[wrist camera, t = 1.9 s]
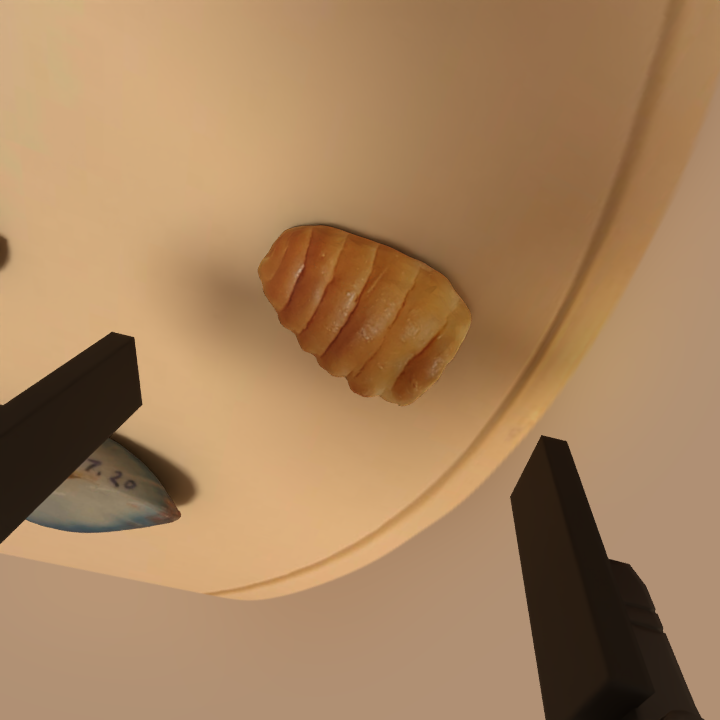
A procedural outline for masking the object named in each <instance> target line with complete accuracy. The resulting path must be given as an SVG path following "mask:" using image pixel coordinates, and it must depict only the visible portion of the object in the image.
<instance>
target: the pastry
mask: <svg viewBox="0 0 720 720" xmlns="http://www.w3.org/2000/svg"><path fill="white" fill-rule="evenodd" d="M258 274H259V278H260V279H261V281H262V285H263V292H264V294H265V296H266V297H267V298H268V300H269V302H270V303H271V304H272V306H273V307H274V308H275V310H276V312H277V314H278V318H279V321H280V323H281V324H282V325H283V326H284V327H285V328H287V329H289V330H291V331H292V332H293V333H295V335H296V337H297V340H298V342H299V344H300V346H301V348H302V349H303V350H304V351H306V352H308V353H311V354H313V355H314V356H315V357H316V359H317V362H318V363H319V365H320V366H321V367H322V368H324V369H325V370H327V371H328V373H330V374H331V375H332V376H335V377H346V378H347V380H348V383H349V387H350V389H351V390H352V391H353V392H354V393H357V394H359V395H361V396H363V397H373V396H380V397H382V398H383V399H384V400H386V401H388V402H391V403H397V404H398V405H399V406H406V405H409V404H411V403H413V402H414V401H415V400H416V399H417V398H419V397H420V396H421V395H422V394H424V393H425V392H426V391H427V390H428V389H429V388H430V387H431V386H432V385H433V384H434V383H435V382H436V381H437V380H438V379H439V378H440V376H441V374H442V373H443V371H444V368H445V367H446V365H447V364H448V363H449V362H450V361H452V359H453V358H454V356H455V354H456V352H457V351H458V349H459V347H460V346H461V344H462V342H463V340H464V339H465V337H466V335H467V332H468V329H469V327H470V324H471V314H470V311H469V309H468V307H467V306H466V304H465V303H464V302H463V300H462V299H461V298H460V296H459V295H458V294H457V293H456V291H455V290H454V288H453V287H452V285H451V283H450V282H449V280H448V279H447V278H446V277H445V276H443V275H442V274H441V273H440V272H437V271H436V270H434V269H433V268H431V267H430V266H428V265H426V264H425V263H424V262H422V261H419V260H417V259H414V258H411V257H409V256H407V255H405V254H403V253H401V252H399V251H397V250H395V249H393V248H391V247H388V246H386V245H383V244H380V243H377V242H374V241H372V240H369V239H366V238H363V237H360V236H356V235H354V234H351V233H348V232H346V231H343V230H340V229H337V228H333V227H330V226H323V225H319V226H299V227H294V228H290V229H287V230H285V231H284V232H283V233H282V234H281V235H280V237H279V238H278V239H277V240H276V241H275V242H274V243H273V245H272V247H271V249H270V251H269V253H268V254H267V255H266V256H265V257H264V259H263V260H262V262H261V263H260V265H259V268H258Z"/></svg>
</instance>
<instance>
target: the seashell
mask: <svg viewBox="0 0 720 720" xmlns="http://www.w3.org/2000/svg"><path fill="white" fill-rule="evenodd" d="M180 517H181V513H180V511H179V510H178V509H177V507H176V505H175V504H174V502H173V500H172V499H171V498H170V496H169V495H168V493H167V492H166V490H165V488H164V487H163V485H162V484H161V483H160V482H159V480H158V479H157V478H156V476H155V475H154V474H153V473H152V472H151V470H150V469H149V468H148V467H147V466H146V465H145V464H144V463H143V462H141V461H140V460H139V459H138V458H137V457H136V456H134V455H133V454H132V453H131V452H130V451H128V450H127V449H126V448H124V447H123V446H121V445H120V444H119V443H117V442H115V441H114V440H112V439H110V438H108V439H107V440H106V441H105V442H104V443H103V444H102V445H101V446H100V447H99V448H98V449H97V450H96V451H95V452H93V453H92V454H91V455H90V456H89V457H88V458H87V459H86V460H85V461H84V462H83V463H82V464H81V465H80V466H79V467H78V468H77V469H76V470H75V471H74V472H73V473H72V474H71V475H70V476H69V477H68V478H67V479H66V480H65V481H64V482H63V483H62V484H61V485H60V486H59V487H58V488H57V489H56V490H55V491H54V492H53V493H52V494H51V495H50V496H49V497H48V498H47V499H46V500H45V501H44V502H42V503H41V504H40V505H39V506H38V507H37V508H36V509H35V510H34V511H33V512H32V513H31V514H30V515H29V516H28V517H27V518H26V520H28V521H30V522H33V523H36V524H38V525H41V526H45V527H49V528H54V529H58V530H63V531H69V532H79V533H99V532H111V531H121V530H129V529H136V528H143V527H150V526H154V525H160V524H165V523H170V522H174V521H176V520H178V519H179V518H180Z"/></svg>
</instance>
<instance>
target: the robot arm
mask: <svg viewBox="0 0 720 720" xmlns="http://www.w3.org/2000/svg"><path fill="white" fill-rule="evenodd" d="M141 405H142V398H141V390H140V381H139V373H138V364H137V356H136V348H135V339H134V337H131V336H127V335H123V334H118V333H114V332H111V333H110V334H108V335H107V336H105V337H104V338H102V339H101V340H99V341H98V342H96V343H95V344H93V345H92V346H90V347H89V348H87V349H86V350H84V351H83V352H81V353H80V354H79V355H77V356H76V357H74V358H73V359H71V360H70V361H68V362H67V363H65V364H64V365H62V366H61V367H59V368H58V369H56V370H55V371H53V372H52V373H50V374H49V375H47V376H46V377H44V378H43V379H41V380H40V381H39V382H37V383H36V384H34V385H33V386H31V387H30V388H28V389H27V390H25V391H24V392H22V393H21V394H19V395H18V396H16V397H15V398H13V399H12V400H10V401H9V402H7V403H6V404H4V405H0V544H1V543H2V542H3V541H4V540H5V539H6V538H7V537H8V536H9V535H10V534H11V533H12V532H13V531H14V530H15V529H16V528H17V527H18V526H19V525H20V524H21V523H22V522H23V521H24V520H25V519H26V518H27V517H28V516H29V515H30V514H31V513H32V512H33V511H34V510H35V509H36V508H37V507H38V506H39V505H40V504H41V503H42V502H44V501H45V500H46V499H47V498H48V497H49V496H50V495H51V494H52V493H53V492H54V491H55V490H56V489H57V488H58V487H59V486H60V485H61V484H62V483H63V482H64V481H65V480H66V479H67V478H68V477H69V476H70V475H71V474H72V473H73V472H74V471H75V470H76V469H77V468H78V467H79V466H80V465H81V464H82V463H83V462H84V461H85V460H86V459H87V458H88V457H89V456H90V455H91V454H92V453H93V452H95V451H96V450H97V449H98V448H99V447H100V446H101V445H102V444H103V443H104V442H105V441H106V440H107V439H108V438H109V437H110V436H111V435H112V434H113V433H114V432H115V431H116V430H117V429H118V428H119V427H120V426H121V425H122V424H123V423H124V422H125V421H126V420H127V419H128V418H129V417H130V416H131V415H132V414H133V413H134V412H135V411H136V410H137V409H138V408H139V407H140V406H141ZM510 498H511V505H512V511H513V517H514V523H515V530H516V535H517V542H518V549H519V555H520V561H521V567H522V574H523V580H524V586H525V593H526V598H527V605H528V611H529V617H530V624H531V630H532V636H533V643H534V649H535V655H536V661H537V668H538V674H539V681H540V686H541V693H542V700H543V706H544V712H545V718H546V720H704V719H702V718H701V716H700V714H699V712H698V710H697V708H696V706H695V704H694V701H693V699H692V697H691V694H690V692H689V689H688V687H687V684H686V682H685V680H684V677H683V675H682V672H681V670H680V667H679V665H678V663H677V660H676V658H675V656H674V653H673V650H672V648H671V646H670V643H669V641H668V638H667V636H666V634H665V633H663V626H662V624H661V621H660V619H659V617H658V614H656V613H655V607H654V604H653V602H652V600H651V597H650V595H649V592H648V590H647V587H646V585H645V584H644V583H643V582H642V580H641V579H640V578H639V576H638V575H637V574H636V572H635V571H634V570H633V569H632V567H631V566H630V564H626V563H622V562H619V561H615V560H611V559H608V557H607V554H606V551H605V548H604V545H603V543H602V540H601V537H600V534H599V531H598V528H597V525H596V523H595V520H594V517H593V514H592V511H591V509H590V506H589V503H588V500H587V497H586V495H585V492H584V489H583V486H582V483H581V480H580V477H579V474H578V472H577V469H576V466H575V463H574V461H573V457H572V455H571V452H570V449H569V446H568V444H567V442H566V441H563V440H559V439H555V438H551V437H546V436H543V435H541V437H540V439H539V441H538V443H537V445H536V447H535V449H534V451H533V453H532V455H531V457H530V459H529V461H528V463H527V465H526V467H525V469H524V471H523V473H522V475H521V477H520V479H519V481H518V482H517V485H516V487H515V488H514V491H513V492H512V494H511V496H510Z"/></svg>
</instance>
